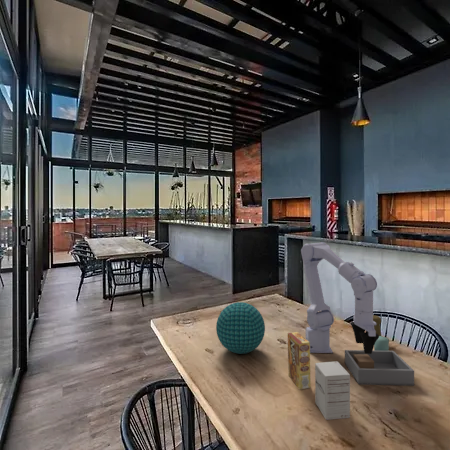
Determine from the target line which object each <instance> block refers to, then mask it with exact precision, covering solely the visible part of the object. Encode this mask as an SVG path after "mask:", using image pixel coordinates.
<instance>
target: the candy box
mask: <svg viewBox="0 0 450 450" xmlns="http://www.w3.org/2000/svg"><path fill="white" fill-rule="evenodd" d="M287 361H288V363H287V364H288V377H289V378H290V379H291V380H292V382H293V383H294V384H295V386H296V387H297V388H298V390H305V389H311V387H312V386H311V384H312V383H311V353H310V342H309V341H308V340H306V337H305V336H303V335H302V334H301V333H300V332H299V331H295V332H288V333H287Z"/></svg>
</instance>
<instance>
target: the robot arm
mask: <svg viewBox="0 0 450 450" xmlns="http://www.w3.org/2000/svg"><path fill="white" fill-rule="evenodd" d="M300 252H301V258H302V263H303V271H304V274H305V279H306V284H307V291H308V295H309V301H310V305H309V307H308V308H307V310H306V313H307V317H306V320H307V321H306V322H307V324H308V326H307V327H305V339H306V340H308V341H309V342H310V354H312V353H314V354H319V353H320V354H321V353H322V354H333V353H334V352H333V350H332V347H331V345H330V340H331V338H330V337H331V336H330V335H331V333H330V331H331V330H330V329H331V327H332V325H333V324H334V322H335V318H334V314H333V313H332V310H331V307H330V306H329V305H328V304H327V303H326V302H325V298H324V294H323V289H322V285H321V280H320V275H319V270H318V266H319V263H320V262H321V261H322V260H325V261H326V262H328V263H329V264H331V265H332V266H333V267H335V268H337V270H338V271H337V272H338V274H339V275H340V276H341V277H342V278H344V279H345V281H347V282H348V283H349V284H350V286H351V288H352V291H353V296H354V314H353V317H352V319H353V321H351V322H349V324H350V326H351V328H352V330H353V331H352V332H353V335H354V339H355V343H356V344H362V346H363V350H364V352H365V354H372V351H373V350H374V344H375V342H376V341H377V339H378V338H379V335H378V334H376V331H375V329H374V325H376V322H374V321H373V315H374V291H375V290H376V289H377V287H378V282H377V279H376V277H374V275H372V274H371V273H365V272H364V271H362V270H361V269H359V268H358V267H357V266H355V263H353V262H352V261H346V262H345V261H344V260H342V258H341V257H339V256H338V255H337V253H335V252H334V251H333V250H332V249H331V246H330V245H329V244H327V243H326V242H324V241H321V242H313V243H304V244H303V246H302V247H301V249H300Z"/></svg>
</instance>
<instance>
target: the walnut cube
mask: <svg viewBox="0 0 450 450" xmlns="http://www.w3.org/2000/svg"><path fill="white" fill-rule="evenodd" d="M354 361H355V362H356V364H357V365H358V366H359V368H366V369H374V361H373V360H372V359H371V357H370V356H369V355H368V354H354Z"/></svg>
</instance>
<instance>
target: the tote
mask: <svg viewBox="0 0 450 450" xmlns="http://www.w3.org/2000/svg"><path fill="white" fill-rule="evenodd" d="M354 354H365V352H364V349H362V350H361V349H344V364H345V366H346V368H348V370H349V371H350V373H351V374H350V375H352V376H353V378H354V380H355V381H356V383H357V384H358V385H366V386H367V385H368V386H369V385H370V386H372V385H373V386H374V385H376V386H407V387H409V386H412V387H413V386H415V370H414V369H413V367H411V366H410V365H409V364H408V363H407V362H406V361H405V360H404V359H403V358H402V357H401V356H400V355H398V353H396V351H394V350H389V351H378V350H374V349H373V351H372V354H368V355H369V356H370V357H371V359H372V360H373V361H374V369H366V368H359V366H358V365H357V364H356V362H355V361H354Z"/></svg>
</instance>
